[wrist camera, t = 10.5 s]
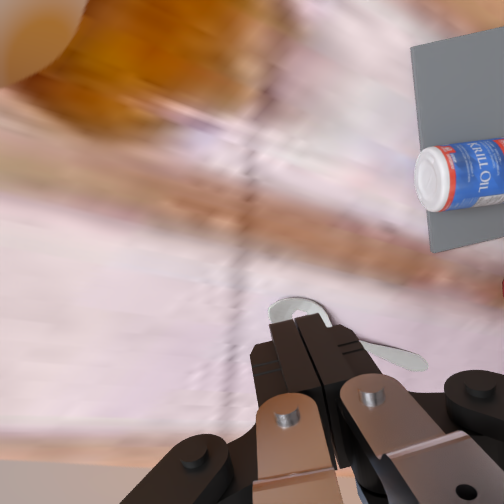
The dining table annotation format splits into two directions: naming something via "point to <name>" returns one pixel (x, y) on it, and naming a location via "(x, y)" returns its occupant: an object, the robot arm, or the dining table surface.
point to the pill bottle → (460, 175)
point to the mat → (461, 120)
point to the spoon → (289, 305)
